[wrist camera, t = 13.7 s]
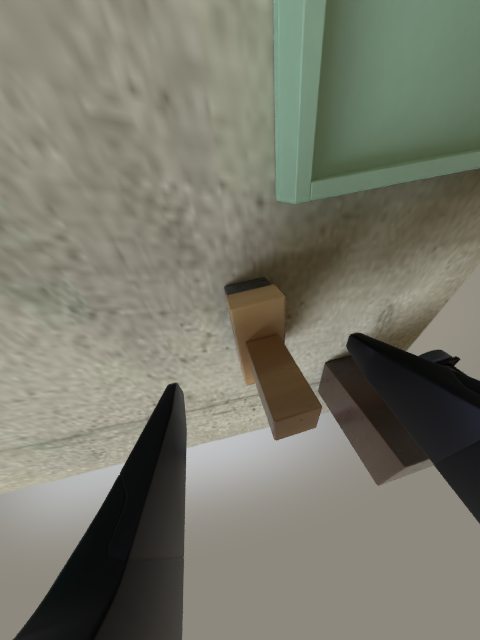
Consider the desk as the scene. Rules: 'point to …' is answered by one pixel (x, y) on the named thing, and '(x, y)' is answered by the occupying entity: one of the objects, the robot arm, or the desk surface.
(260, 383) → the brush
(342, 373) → the dark brown block
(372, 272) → the desk surface
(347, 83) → the tray
